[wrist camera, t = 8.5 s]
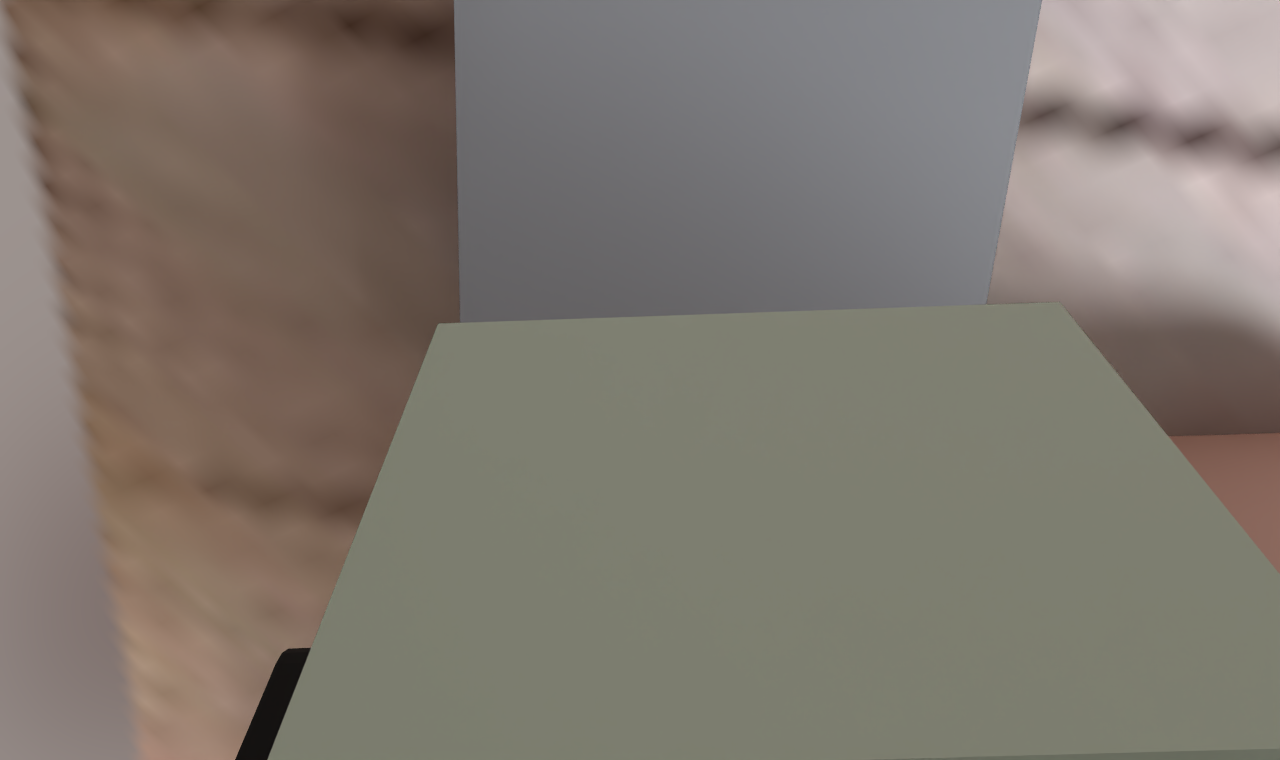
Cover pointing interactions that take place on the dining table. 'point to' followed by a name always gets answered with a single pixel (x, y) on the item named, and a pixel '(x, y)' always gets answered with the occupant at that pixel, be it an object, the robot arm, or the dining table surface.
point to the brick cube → (1242, 481)
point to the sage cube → (789, 553)
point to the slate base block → (732, 153)
